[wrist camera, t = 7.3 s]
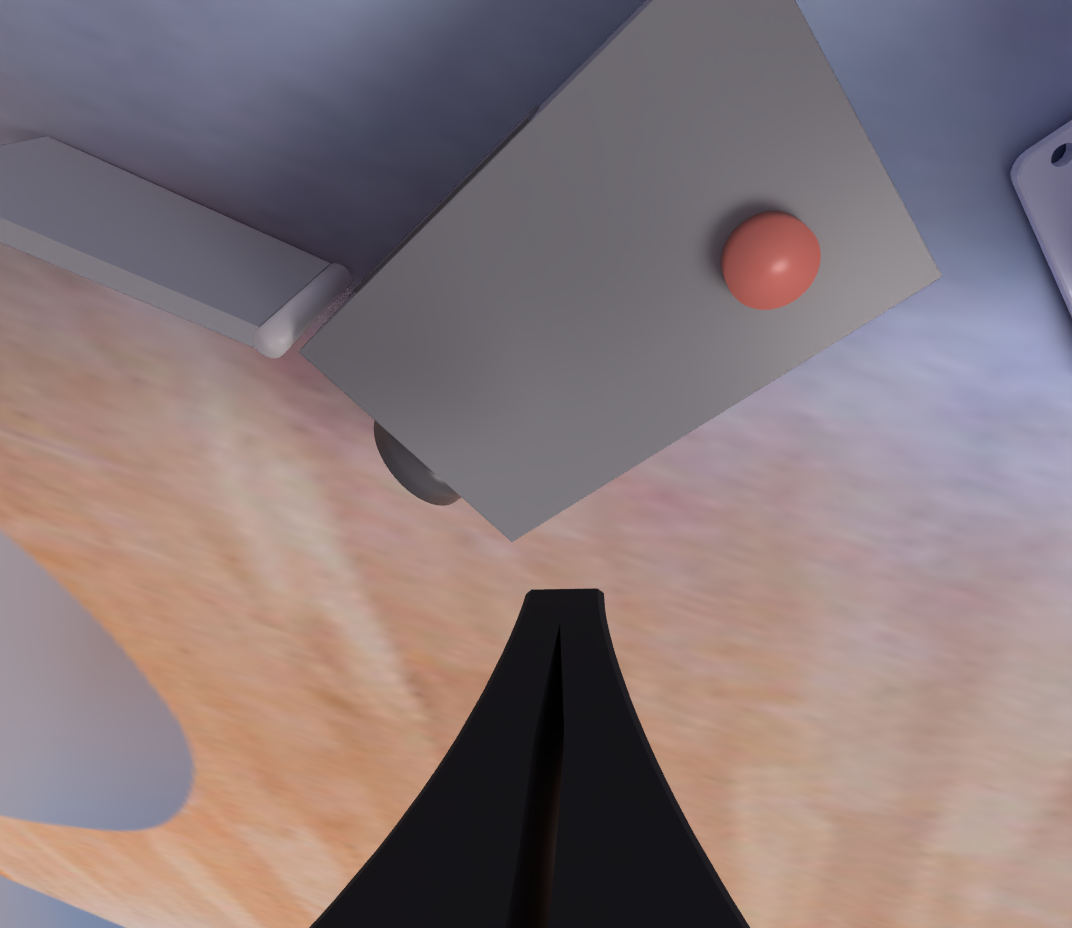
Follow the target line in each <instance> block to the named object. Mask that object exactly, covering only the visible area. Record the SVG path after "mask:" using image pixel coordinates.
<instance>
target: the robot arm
mask: <svg viewBox="0 0 1072 928" xmlns="http://www.w3.org/2000/svg"><path fill="white" fill-rule="evenodd" d="M1063 144H1066V151H1065V153H1064V155H1063V157H1062V158H1061V159H1059V160H1058V161H1057V162H1055V163H1051V156H1052V154H1053V152H1054V151H1055V150H1056V149H1057V148H1058V147H1059V146H1060V145H1063ZM1010 174H1011V181H1012V183H1013V185H1014V188H1015V190H1016V192H1017V194H1018V197H1019V199H1020V201H1021V204H1022V206H1023V208H1024V210H1025V213H1026V215H1027V217H1028V219H1029V222H1030V224H1031V226H1032V228H1033V231H1034V233H1035V235H1036V237H1037V240H1038V242H1039V244H1040V246H1041V249H1042V251H1043V253H1044V256H1045V258H1046V260H1047V262H1048V265H1049V267H1050V269H1051V271H1052V274H1053V276H1054V278H1055V280H1056V283H1057V285H1058V287H1059V289H1060V292H1061V294H1062V296H1063V298H1064V301H1065V303H1066V305H1067V308H1068V310H1069V312H1070V314H1071V317H1072V120H1071V121H1069V122H1068V123H1066V124H1065V125H1063V126H1062V127H1060V128H1059V129H1057V130H1055V131H1054V132H1052V133H1051V134H1049V135H1048V136H1046V137H1045V138H1043V139H1042V140H1040V141H1039V142H1037V143H1036V144H1034V145H1033V146H1031V147H1030V148H1028V149H1027V150H1025V151H1024V152H1023V153H1022V154H1021V155H1020V156H1019V157H1018V158H1017V159H1016V161H1015V162H1014V164H1013V166H1012V169H1011V173H1010ZM309 928H750V927H749V925H748V924H747V922H746V920H745V919H744V917H743V916H742V914H741V912H740V911H739V909H738V908H737V906H736V904H735V903H734V901H733V900H732V898H731V896H730V895H729V893H728V891H727V890H726V888H725V886H724V884H723V883H722V881H721V879H720V878H719V876H718V874H717V872H716V871H715V869H714V867H713V865H712V864H711V862H710V860H709V859H708V857H707V855H706V853H705V852H704V850H703V848H702V847H701V845H700V843H699V841H698V840H697V838H696V836H695V834H694V833H693V831H692V829H691V827H690V825H689V823H688V821H687V819H686V818H685V816H684V814H683V812H682V810H681V808H680V806H679V804H678V802H677V801H676V799H675V797H674V795H673V793H672V791H671V789H670V787H669V785H668V783H667V781H666V779H665V777H664V775H663V772H662V770H661V768H660V766H659V764H658V762H657V760H656V758H655V755H654V753H653V751H652V749H651V747H650V744H649V742H648V740H647V737H646V735H645V733H644V730H643V728H642V726H641V723H640V721H639V719H638V716H637V714H636V711H635V709H634V706H633V704H632V701H631V699H630V696H629V693H628V690H627V687H626V684H625V682H624V679H623V676H622V673H621V670H620V668H619V664H618V661H617V658H616V655H615V651H614V648H613V644H612V640H611V637H610V633H609V628H608V624H607V619H606V613H605V603H604V593H603V592H602V591H600V590H599V589H544V590H531V591H529V592H528V593H527V594H526V596H525V599H524V602H523V605H522V608H521V611H520V613H519V616H518V619H517V621H516V624H515V626H514V628H513V631H512V633H511V635H510V638H509V640H508V642H507V644H506V646H505V649H504V651H503V653H502V655H501V657H500V659H499V661H498V663H497V665H496V667H495V669H494V671H493V673H492V675H491V677H490V679H489V681H488V683H487V685H486V687H485V689H484V691H483V693H482V694H481V696H480V698H479V700H478V702H477V703H476V705H475V707H474V708H473V710H472V712H471V714H470V715H469V717H468V719H467V721H466V722H465V724H464V726H463V728H462V729H461V731H460V733H459V734H458V736H457V738H456V739H455V741H454V743H453V744H452V746H451V747H450V749H449V750H448V752H447V754H446V755H445V757H444V758H443V760H442V761H441V763H440V764H439V766H438V767H437V769H436V770H435V772H434V773H433V775H432V776H431V778H430V779H429V781H428V782H427V784H426V785H425V786H424V788H423V789H422V791H421V792H420V793H419V795H418V796H417V798H416V799H415V800H414V802H413V803H412V804H411V806H410V807H409V808H408V810H407V811H406V812H405V814H404V815H403V817H402V818H401V819H400V821H399V822H398V823H397V825H396V826H395V827H394V829H393V830H392V831H391V832H390V834H389V835H388V836H387V838H386V839H385V840H384V841H383V843H382V844H381V845H380V846H379V848H378V849H377V850H376V851H375V853H374V854H373V855H372V856H371V857H370V858H369V860H368V861H367V862H366V863H365V864H364V866H363V867H362V868H361V869H360V870H359V871H358V873H357V874H356V875H355V876H354V877H353V879H352V880H351V881H350V882H349V883H348V885H347V886H346V887H345V888H344V889H343V890H342V892H341V893H340V894H339V895H338V896H337V898H336V899H335V900H334V901H333V902H332V903H331V904H330V906H329V907H328V908H327V909H326V910H325V911H324V912H323V913H322V914H321V916H320V917H319V918H318V919H317V920H316V921H315V922H314V923H313V924H312V925H311V926H310V927H309Z"/></svg>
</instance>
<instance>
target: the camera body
mask: <svg viewBox="0 0 1072 928" xmlns="http://www.w3.org/2000/svg"><path fill="white" fill-rule="evenodd" d="M941 277H942V275H941V273H940V271H939V269H938V268H937V266H936V264H935V262H934V260H933V258H932V256H931V254H930V253H929V251H928V249H927V247H926V245H925V243H924V241H923V239H922V238H921V236H920V234H919V232H918V230H917V228H916V226H915V224H914V223H913V221H912V219H911V217H910V215H909V213H908V211H907V209H906V208H905V206H904V204H903V202H902V200H901V198H900V196H899V194H898V192H897V191H896V189H895V187H894V185H893V183H892V181H891V179H890V177H889V176H888V174H887V172H886V170H885V168H884V166H883V164H882V162H881V161H880V159H879V157H878V155H877V153H876V151H875V149H874V147H873V146H872V144H871V142H870V140H869V138H868V136H867V134H866V132H865V130H864V129H863V127H862V125H861V123H860V121H859V119H858V117H857V115H856V114H855V112H854V110H853V108H852V106H851V104H850V102H849V100H848V99H847V97H846V95H845V93H844V91H843V89H842V87H841V85H840V84H839V82H838V80H837V78H836V76H835V74H834V72H833V70H832V69H831V67H830V65H829V63H828V61H827V59H826V57H825V55H824V53H823V52H822V50H821V48H820V46H819V44H818V42H817V40H816V38H815V37H814V35H813V33H812V31H811V29H810V27H809V25H808V23H807V22H806V20H805V18H804V16H803V14H802V12H801V10H800V8H799V7H798V5H797V3H796V1H795V0H645V1H644V2H643V3H642V4H641V5H640V6H639V7H638V8H637V9H636V10H635V11H634V12H633V13H632V14H631V15H630V16H629V17H628V18H627V19H626V20H625V21H624V22H623V23H622V24H621V25H620V26H619V27H618V28H617V29H616V30H615V31H614V32H613V33H612V34H611V35H610V36H609V37H608V38H607V39H606V40H605V41H604V42H603V43H602V44H601V45H600V46H599V47H598V48H597V49H596V50H595V51H594V52H593V53H592V54H591V55H590V56H589V57H588V58H587V59H586V60H585V61H584V62H583V63H582V64H581V65H580V66H579V67H578V68H577V69H576V70H575V71H574V72H573V73H572V74H571V75H570V76H569V77H568V78H567V79H566V80H565V81H564V82H563V83H562V84H561V85H560V86H559V87H558V88H557V89H556V90H555V91H554V92H553V93H552V94H551V95H550V96H549V97H548V98H547V99H546V100H545V101H544V102H543V103H542V104H541V105H540V106H538V105H537V106H536V107H535V108H534V109H533V110H532V111H531V112H530V113H529V114H528V115H527V116H526V117H525V118H524V119H523V120H522V121H521V122H520V123H519V124H518V125H517V126H516V127H515V128H514V129H513V130H512V131H511V132H510V133H509V134H508V135H507V136H506V137H505V138H504V139H503V140H502V141H501V142H500V143H499V144H498V145H497V146H496V147H495V148H494V149H493V150H492V151H491V152H490V153H489V154H488V155H487V156H486V157H485V158H484V159H483V160H482V161H481V162H480V163H479V164H478V165H477V166H476V167H475V168H474V169H473V170H472V171H471V172H470V173H469V174H468V175H467V176H466V177H465V178H464V179H463V180H462V181H461V182H460V183H459V184H458V185H457V186H456V187H455V188H454V189H453V190H452V191H451V192H450V193H449V194H448V195H447V196H446V197H445V198H444V199H443V200H442V201H441V202H440V203H439V204H438V205H437V206H436V207H435V208H434V209H433V210H432V211H431V212H430V213H429V214H428V215H427V216H426V217H425V218H424V219H423V220H422V221H421V222H420V223H419V224H418V225H417V226H416V227H415V228H414V229H413V230H412V231H411V232H410V233H409V234H408V235H407V236H406V237H405V238H404V239H403V240H402V241H401V242H400V243H399V244H398V245H397V246H396V247H395V248H394V249H393V250H392V251H391V252H390V253H389V254H388V255H387V256H386V257H385V258H384V259H383V260H382V261H381V262H380V263H379V264H378V265H377V266H376V267H375V268H374V269H373V270H372V271H371V273H370V274H369V275H368V276H367V277H366V278H365V279H364V280H363V281H362V282H361V283H360V284H359V285H358V287H357V288H356V289H355V290H354V292H353V293H352V294H351V296H350V297H349V298H348V299H347V300H346V301H345V302H344V303H343V304H342V305H341V306H340V307H339V309H338V310H337V311H336V312H335V313H334V314H333V315H332V316H331V317H330V318H329V319H328V320H327V322H326V323H325V324H324V325H323V326H322V327H321V328H320V329H319V330H318V331H317V332H316V333H315V335H314V336H313V337H312V338H311V339H310V340H309V341H308V342H307V343H306V344H305V345H304V346H303V348H302V349H301V350H300V351H299V353H300V354H302V355H303V356H304V357H305V358H306V359H307V360H308V361H309V362H311V363H312V364H313V365H314V366H315V367H316V368H317V369H318V370H320V371H321V372H322V373H323V374H324V375H325V376H326V377H327V378H329V379H330V380H331V381H332V382H333V383H334V384H335V385H336V386H337V387H339V388H340V389H341V390H342V391H343V392H344V393H345V394H346V395H348V396H349V397H350V398H351V399H352V400H353V401H354V402H355V403H357V404H358V405H359V406H360V407H361V408H362V409H363V410H364V411H365V412H367V413H368V414H369V415H370V416H371V417H372V418H373V419H374V420H375V422H374V436H375V441H376V445H377V448H378V450H379V453H380V455H381V457H382V459H383V461H384V463H385V464H386V466H387V467H388V469H389V470H390V472H391V473H392V474H393V476H394V477H395V478H396V479H397V480H398V481H399V482H400V483H401V484H402V485H403V486H404V487H405V488H406V489H407V490H408V491H410V492H411V493H412V494H413V495H415V496H416V497H418V498H420V499H422V500H424V501H426V502H428V503H431V504H435V505H442V506H443V505H449V504H452V503H454V502H456V501H457V500H458V499H460V498H461V497H462V498H463V499H464V500H465V501H466V502H467V503H469V504H470V505H471V506H472V507H473V508H474V509H475V510H476V511H478V512H479V513H480V514H481V515H482V516H483V517H484V518H485V519H486V520H488V521H489V522H490V523H491V524H492V525H493V526H494V527H495V528H497V529H498V530H499V531H500V532H501V533H502V534H503V535H504V536H506V537H507V538H508V539H509V540H510V541H511V542H513V541H514V540H516V539H518V538H519V537H521V536H523V535H524V534H526V533H527V532H529V531H531V530H532V529H534V528H536V527H537V526H539V525H540V524H542V523H544V522H545V521H547V520H549V519H550V518H552V517H553V516H555V515H557V514H558V513H560V512H561V511H563V510H565V509H566V508H568V507H570V506H571V505H573V504H574V503H576V502H578V501H579V500H581V499H583V498H584V497H586V496H587V495H589V494H591V493H592V492H594V491H595V490H597V489H599V488H600V487H602V486H604V485H605V484H607V483H608V482H610V481H612V480H613V479H615V478H617V477H618V476H620V475H621V474H623V473H625V472H626V471H628V470H630V469H631V468H633V467H634V466H636V465H638V464H639V463H641V462H642V461H644V460H646V459H647V458H649V457H651V456H652V455H654V454H655V453H657V452H659V451H660V450H662V449H664V448H665V447H667V446H668V445H670V444H672V443H673V442H675V441H676V440H678V439H680V438H681V437H683V436H685V435H686V434H688V433H689V432H691V431H693V430H694V429H696V428H698V427H699V426H701V425H702V424H704V423H706V422H707V421H709V420H711V419H712V418H714V417H715V416H717V415H719V414H720V413H722V412H723V411H725V410H727V409H728V408H730V407H732V406H733V405H735V404H736V403H738V402H740V401H741V400H743V399H745V398H746V397H748V396H749V395H751V394H753V393H754V392H756V391H757V390H759V389H761V388H762V387H764V386H766V385H767V384H769V383H770V382H772V381H774V380H775V379H777V378H779V377H780V376H782V375H783V374H785V373H787V372H788V371H790V370H792V369H793V368H795V367H796V366H798V365H800V364H801V363H803V362H804V361H806V360H808V359H809V358H811V357H813V356H814V355H816V354H817V353H819V352H821V351H822V350H824V349H826V348H827V347H829V346H830V345H832V344H834V343H835V342H837V341H838V340H840V339H842V338H843V337H845V336H847V335H848V334H850V333H851V332H853V331H855V330H856V329H858V328H860V327H861V326H863V325H864V324H866V323H868V322H869V321H871V320H873V319H874V318H876V317H877V316H879V315H881V314H882V313H884V312H885V311H887V310H889V309H890V308H892V307H894V306H895V305H897V304H898V303H900V302H902V301H903V300H905V299H907V298H908V297H910V296H911V295H913V294H915V293H916V292H918V291H919V290H921V289H923V288H924V287H926V286H928V285H929V284H931V283H932V282H934V281H936V280H937V279H939V278H941Z"/></svg>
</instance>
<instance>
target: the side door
mask: <svg viewBox="0 0 1072 928" xmlns="http://www.w3.org/2000/svg"><path fill="white" fill-rule="evenodd" d="M0 242H1V243H3V244H5V245H8V246H10V247H13V248H15V249H17V250H20V251H22V252H25V253H27V254H29V255H32V256H34V257H37V258H39V259H41V260H44V261H46V262H49V263H51V264H53V265H56V266H58V267H61V268H63V269H66V270H68V271H70V272H73V273H75V274H78V275H80V276H82V277H85V278H87V279H90V280H92V281H94V282H97V283H99V284H102V285H104V286H106V287H109V288H111V289H114V290H116V291H118V292H121V293H123V294H126V295H128V296H130V297H133V298H135V299H138V300H140V301H142V302H145V303H147V304H150V305H152V306H154V307H157V308H159V309H162V310H164V311H166V312H169V313H171V314H174V315H176V316H179V317H181V318H183V319H186V320H188V321H191V322H193V323H195V324H198V325H200V326H203V327H205V328H207V329H210V330H212V331H215V332H217V333H219V334H222V335H224V336H227V337H229V338H231V339H234V340H236V341H239V342H241V343H243V344H246V345H248V346H251V347H253V348H256V349H257V351H258V352H259V353H261V354H262V355H264V356H266V357H268V358H279V357H281V356H282V355H283V354H284V353H285V352H286V351H287V350H288V349H289V348H290V347H291V346H292V345H293V344H294V343H295V342H296V341H297V340H298V339H299V338H300V337H301V335H302V334H303V333H304V332H305V331H306V330H307V329H308V328H309V327H310V326H311V325H312V324H313V323H314V322H315V321H316V320H317V319H318V318H319V317H320V316H321V315H322V314H323V313H324V312H325V311H326V310H327V308H328V307H329V306H330V305H331V304H332V303H333V302H334V301H335V300H336V299H337V298H338V297H339V296H340V295H341V294H342V293H343V292H344V291H345V290H346V289H347V288H348V287H349V285H350V283H351V275H350V273H349V271H348V270H347V268H346V267H344V266H343V265H341V264H338V263H333V264H331V263H329V262H327V261H324V260H322V259H320V258H318V257H316V256H313V255H311V254H309V253H307V252H304V251H302V250H300V249H298V248H295V247H293V246H291V245H289V244H287V243H284V242H282V241H280V240H278V239H275V238H273V237H271V236H269V235H267V234H264V233H262V232H260V231H258V230H255V229H253V228H251V227H249V226H247V225H244V224H242V223H240V222H238V221H235V220H233V219H231V218H229V217H227V216H224V215H222V214H220V213H218V212H215V211H213V210H211V209H209V208H206V207H204V206H202V205H200V204H198V203H195V202H193V201H191V200H189V199H186V198H184V197H182V196H180V195H178V194H175V193H173V192H171V191H169V190H166V189H164V188H162V187H160V186H158V185H155V184H153V183H151V182H149V181H146V180H144V179H142V178H140V177H138V176H135V175H133V174H131V173H129V172H126V171H124V170H122V169H120V168H117V167H115V166H113V165H111V164H109V163H106V162H104V161H102V160H100V159H97V158H95V157H93V156H91V155H89V154H86V153H84V152H82V151H80V150H77V149H75V148H73V147H71V146H69V145H66V144H64V143H62V142H60V141H57V140H55V139H53V138H51V137H49V136H47V137H41V138H36V139H31V140H26V141H21V142H16V143H11V144H6V145H1V146H0Z"/></svg>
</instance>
